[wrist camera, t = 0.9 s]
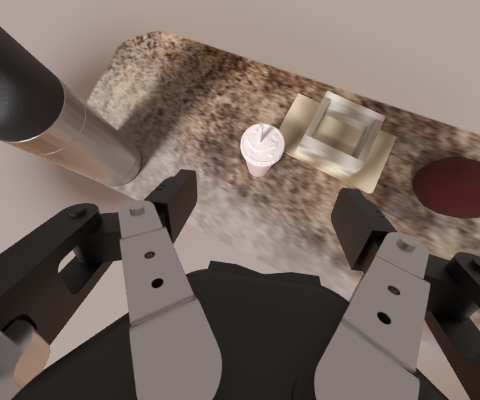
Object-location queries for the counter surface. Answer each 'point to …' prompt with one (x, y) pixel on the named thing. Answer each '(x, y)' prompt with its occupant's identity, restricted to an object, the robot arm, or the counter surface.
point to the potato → (450, 187)
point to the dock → (338, 139)
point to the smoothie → (262, 148)
